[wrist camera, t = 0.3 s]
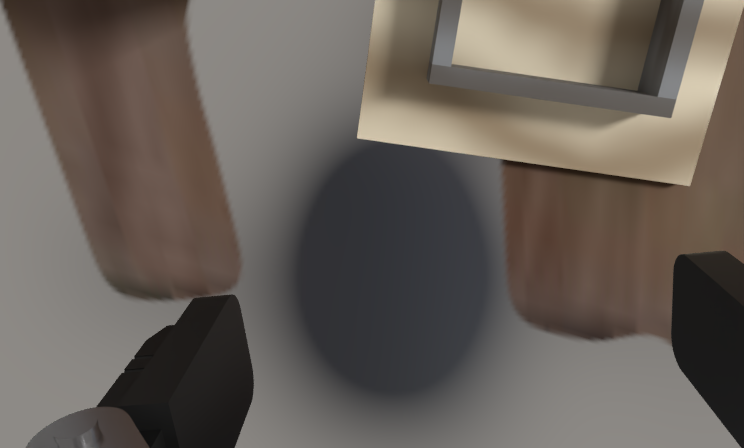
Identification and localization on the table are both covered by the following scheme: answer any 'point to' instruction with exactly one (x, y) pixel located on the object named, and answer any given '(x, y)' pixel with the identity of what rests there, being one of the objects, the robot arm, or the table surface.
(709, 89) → the mount plate
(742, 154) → the table surface
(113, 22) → the table surface
